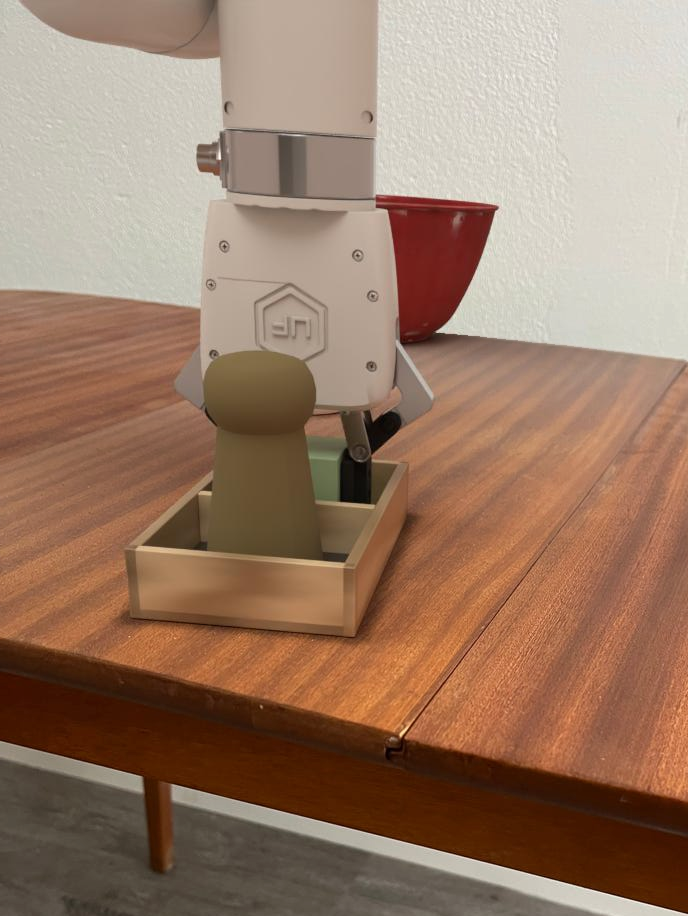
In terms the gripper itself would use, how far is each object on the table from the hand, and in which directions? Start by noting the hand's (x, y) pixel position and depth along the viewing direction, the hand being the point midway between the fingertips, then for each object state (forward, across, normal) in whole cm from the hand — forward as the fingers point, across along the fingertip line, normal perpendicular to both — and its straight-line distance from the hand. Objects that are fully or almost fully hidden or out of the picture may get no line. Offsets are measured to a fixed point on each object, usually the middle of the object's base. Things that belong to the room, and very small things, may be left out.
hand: (306, 515), depth 59 cm
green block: (0, 0, 0) cm, 0 cm away
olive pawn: (+1, 0, -8) cm, 9 cm away
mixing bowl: (+1, -8, +70) cm, 71 cm away
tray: (+1, 0, -4) cm, 4 cm away
